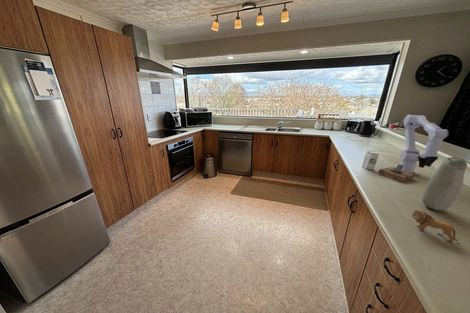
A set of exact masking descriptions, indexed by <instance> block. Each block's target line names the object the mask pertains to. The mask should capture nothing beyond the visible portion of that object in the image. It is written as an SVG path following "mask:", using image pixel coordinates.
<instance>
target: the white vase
mask: <svg viewBox="0 0 470 313" xmlns="http://www.w3.org/2000/svg"><path fill="white" fill-rule="evenodd" d="M467 167H468V164H467V161H466V160H465V159H463V158H460V157H457V156H450V157H446V158H445V159H443V160H442V162H441V163H440V165H439V166H438V168H437V169H436V170H435V171H434V172H433V174H432V175H431V176H430V178H429V180H428V182H427V183H426V187H425V189H424V192H423V193H422V197H421V200H422V203H423V205H425V207H427V208H428V209H431V210H433V211H445V210H447V209H449V208H450V207H451V206H452V205H453V203H454V201H455V199H456V198H457V196H458V194H459V193H460V191H461V188H462V187H463V185H464V184H463V183H464V178H465V172H466V169H467Z"/></svg>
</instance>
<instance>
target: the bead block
mask: <svg viewBox="0 0 470 313" xmlns="http://www.w3.org/2000/svg"><path fill="white" fill-rule="evenodd" d="M393 170H394V167H393V166H391V167H390V166H389V167H384V168H379V170H378V173H377V175H378V174H379V175H381V176H383V177H386V178H389V179H391V178H392V179H391V180H394V181H396V180H397V181H396V182H399V183H400V182H406V181H410V180H413V179H414V177H415V173H408V172H405V171H402V170H401V173H400V174H397V173H394V172H393Z"/></svg>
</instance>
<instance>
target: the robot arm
mask: <svg viewBox="0 0 470 313" xmlns="http://www.w3.org/2000/svg"><path fill="white" fill-rule="evenodd" d="M420 126H422V127H423V130H424V131H425V132H426V133H427V134H428V139H427V140H428V141H427V143H426V146H425V148H424V151H423V152H422V153H421V152H420V150H418V148H416V131H415V130H416V128H419V127H420ZM403 127H404V134H405V135H404V136H405V137H404V138H405V139H404V140H405V143H404V144H405V148H404V149H403V150H401V152H400V160H401V162H400V164H401V165H403V167H402V171H405V172H408V173H411V174H416V172H415V170H416V168H417V162H418V167H419V168H422V169H423V168H425V166H426V167H431V166H432V165H433V164H434V163H435V162H436V161H437V160H438V159H439V154H438V152H439V150H440V147H441V145H442V142H443V140H444V139H446V138H447V137H448V136H449V130H448V129H447V128H445V129H443V128H441V127H440V126H438V125H437V123H435V122H430V121H428V119H427V116H425V115H423V114H422V115H418V114H416V115H415V114H407V115H406V116H404V119H403Z"/></svg>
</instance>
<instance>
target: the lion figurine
mask: <svg viewBox="0 0 470 313" xmlns="http://www.w3.org/2000/svg"><path fill="white" fill-rule="evenodd" d="M411 218H413V219H414V220H415V222H416V223H417V224H419V225H416V227H417V228H418V231H419V230H420V231H419V232H421V231H422V232H424V231H425V229H426V228H427V227H430V228H431V229H432V228H433V229H436V230H437V229H438V230H441V231H442V232H440V231H438V232H437V233H436V234H437V235H439V236H445V235H446V236H447V237H448V238H449V239H446V241H447V242H448V243H453V242H454V241H456V242H458V241H459V240H458V239H456V236H457V235H456V233H457V232H456V229H455V227H454V226H452V225H451V224H449V222H444V221H440V220H437V219H435V218H433V217H432V216H431V215H430V214H429V213H427V212H425V211H424V210H421V209H415V210H414V211H412V215H411Z"/></svg>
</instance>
